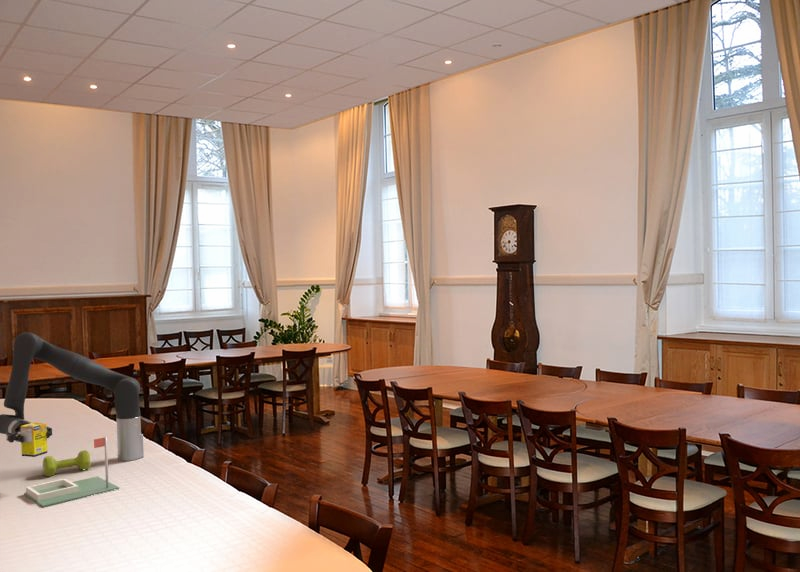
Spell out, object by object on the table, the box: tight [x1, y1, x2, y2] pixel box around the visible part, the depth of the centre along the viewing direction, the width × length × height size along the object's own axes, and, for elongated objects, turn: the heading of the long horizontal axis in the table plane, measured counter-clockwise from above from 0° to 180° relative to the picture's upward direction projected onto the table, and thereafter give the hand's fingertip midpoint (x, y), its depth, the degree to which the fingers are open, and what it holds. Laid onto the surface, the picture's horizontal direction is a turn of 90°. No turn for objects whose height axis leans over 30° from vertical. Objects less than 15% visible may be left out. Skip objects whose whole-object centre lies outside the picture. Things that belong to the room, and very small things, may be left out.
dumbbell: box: [42, 449, 91, 477], centre depth 263 cm, size 16×8×7 cm, turn 126°
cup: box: [23, 436, 120, 508], centre depth 238 cm, size 25×20×19 cm
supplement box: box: [20, 422, 48, 458], centre depth 243 cm, size 6×6×11 cm
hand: (35, 437), depth 241 cm, fingers closed on supplement box, 8 cm apart
